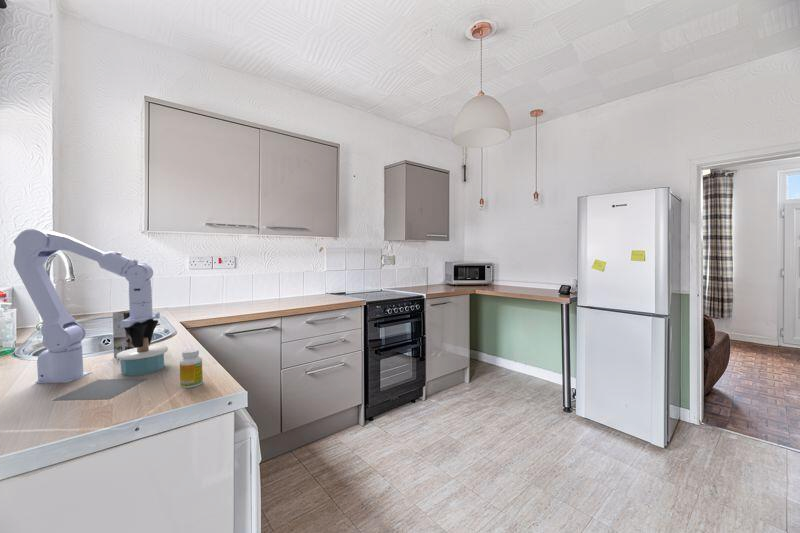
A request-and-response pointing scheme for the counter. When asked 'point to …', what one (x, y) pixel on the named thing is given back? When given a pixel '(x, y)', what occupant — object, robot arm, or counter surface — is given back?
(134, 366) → the bowl
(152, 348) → the lid
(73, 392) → the mat
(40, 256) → the robot arm
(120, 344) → the coffee box
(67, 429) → the counter surface
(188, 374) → the supplement bottle
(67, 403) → the counter surface
